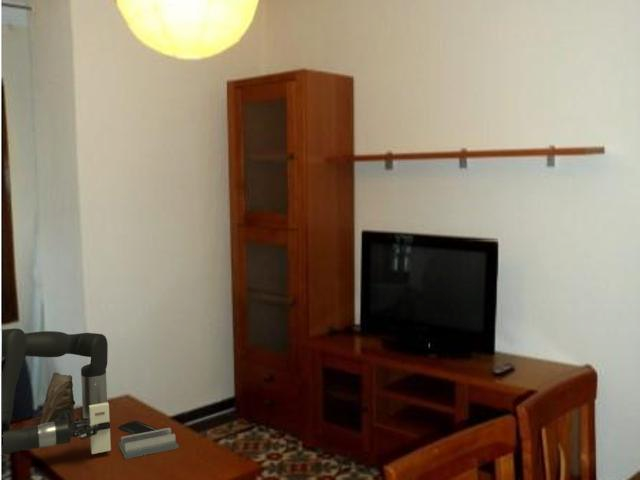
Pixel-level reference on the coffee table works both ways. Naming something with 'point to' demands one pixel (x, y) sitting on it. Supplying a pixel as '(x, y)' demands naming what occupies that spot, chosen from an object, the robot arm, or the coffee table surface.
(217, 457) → the coffee table surface
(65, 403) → the owl
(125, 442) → the floor track
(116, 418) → the coffee table surface
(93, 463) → the coffee table surface
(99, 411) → the door leaf
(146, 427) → the phone
